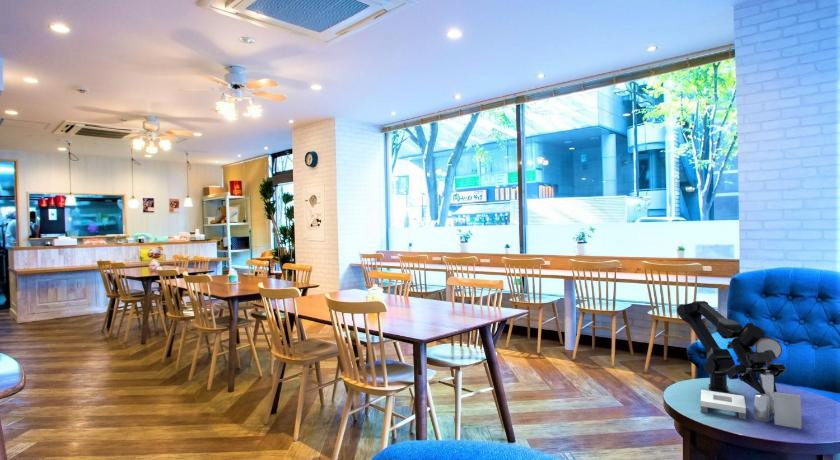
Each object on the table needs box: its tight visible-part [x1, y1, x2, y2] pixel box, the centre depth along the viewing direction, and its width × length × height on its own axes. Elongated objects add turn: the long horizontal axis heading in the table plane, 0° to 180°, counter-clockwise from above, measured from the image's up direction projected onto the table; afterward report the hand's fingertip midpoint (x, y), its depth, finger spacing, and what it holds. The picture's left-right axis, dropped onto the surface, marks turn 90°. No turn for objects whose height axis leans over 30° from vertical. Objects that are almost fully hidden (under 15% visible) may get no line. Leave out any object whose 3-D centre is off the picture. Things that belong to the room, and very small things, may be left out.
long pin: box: [758, 372, 774, 415], centre depth 164 cm, size 4×4×13 cm
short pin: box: [753, 392, 770, 423], centre depth 157 cm, size 4×4×8 cm
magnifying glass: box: [754, 337, 783, 368], centre depth 187 cm, size 9×2×20 cm, turn 64°
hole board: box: [700, 389, 747, 420], centre depth 167 cm, size 13×13×4 cm
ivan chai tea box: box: [773, 391, 803, 430], centre depth 153 cm, size 4×7×10 cm, turn 57°
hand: (769, 393), depth 163 cm, fingers closed on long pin, 4 cm apart
